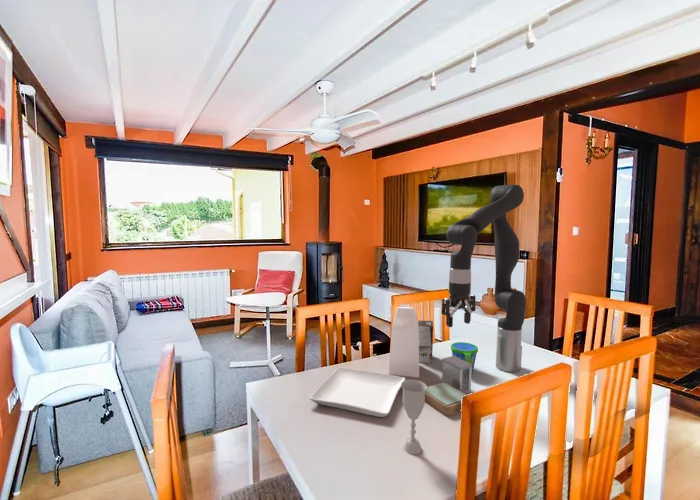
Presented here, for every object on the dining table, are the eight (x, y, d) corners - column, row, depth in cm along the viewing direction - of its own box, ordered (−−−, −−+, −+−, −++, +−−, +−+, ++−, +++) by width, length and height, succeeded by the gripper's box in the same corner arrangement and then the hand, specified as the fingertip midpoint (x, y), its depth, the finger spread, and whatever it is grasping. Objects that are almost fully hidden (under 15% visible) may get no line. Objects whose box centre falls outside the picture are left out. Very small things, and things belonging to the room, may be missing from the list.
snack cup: (448, 361, 164) (449, 339, 163) (474, 363, 162) (475, 340, 161) (451, 377, 149) (452, 352, 147) (479, 379, 147) (480, 354, 146)
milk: (419, 365, 160) (420, 305, 157) (419, 377, 149) (420, 312, 146) (390, 363, 162) (391, 303, 159) (388, 374, 151) (389, 310, 148)
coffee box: (432, 363, 162) (433, 326, 160) (417, 362, 163) (417, 325, 162) (432, 355, 171) (433, 320, 169) (417, 354, 172) (418, 319, 171)
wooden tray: (443, 389, 138) (444, 381, 138) (473, 407, 126) (473, 397, 126) (418, 397, 132) (418, 388, 132) (446, 416, 120) (446, 406, 120)
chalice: (397, 440, 108) (398, 380, 106) (421, 439, 108) (422, 379, 106) (403, 457, 100) (404, 392, 98) (428, 456, 101) (430, 391, 99)
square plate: (308, 408, 126) (308, 397, 125) (338, 375, 151) (338, 365, 151) (387, 424, 116) (387, 412, 116) (406, 386, 142) (406, 376, 142)
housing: (452, 381, 145) (453, 355, 144) (470, 391, 137) (471, 364, 136) (441, 384, 142) (442, 358, 141) (459, 394, 135) (460, 367, 134)
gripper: (466, 277, 142) (464, 319, 144) (437, 280, 135) (436, 324, 137) (482, 280, 136) (480, 324, 137) (452, 284, 129) (451, 330, 131)
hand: (458, 324), depth 137 cm, fingers open, 8 cm apart
